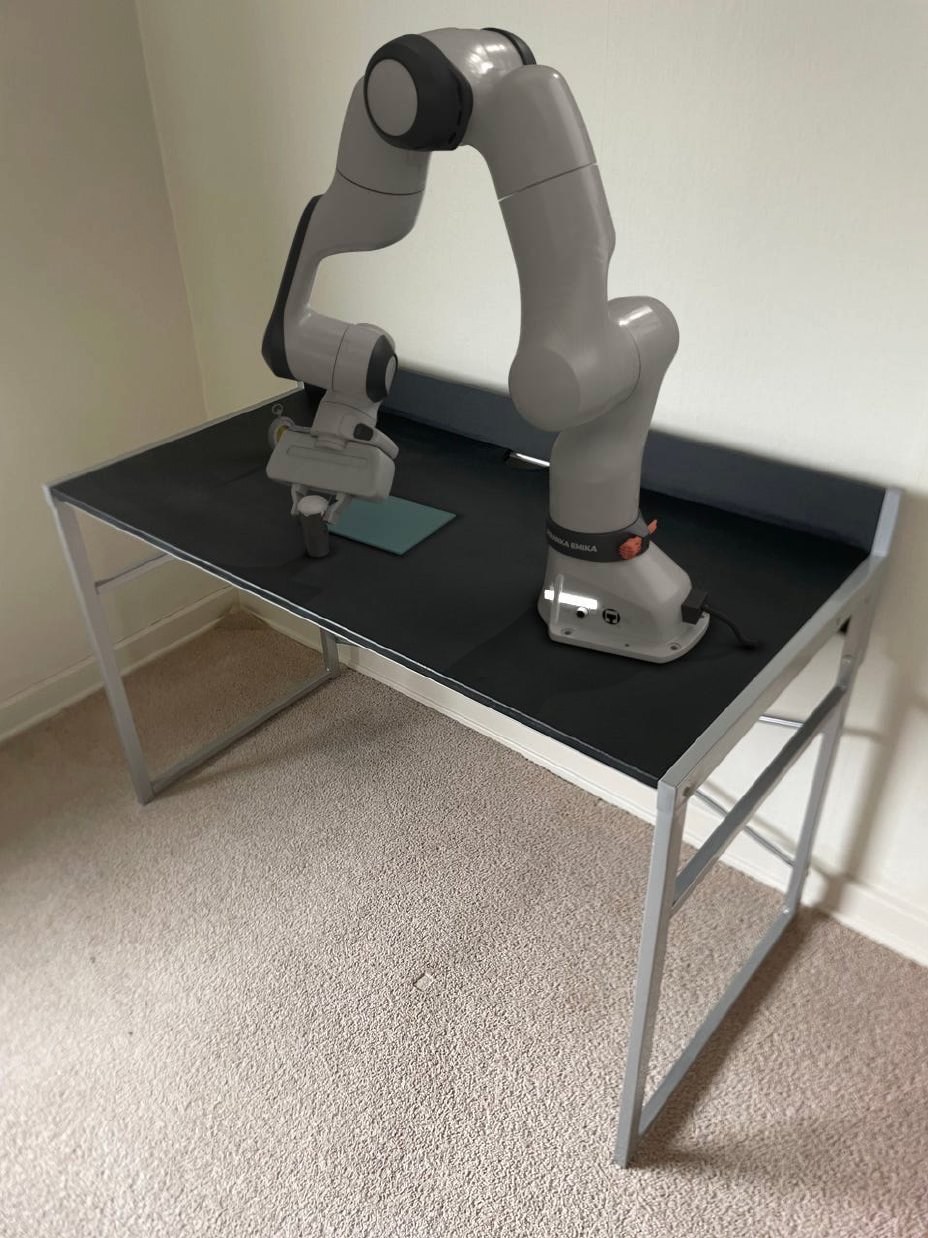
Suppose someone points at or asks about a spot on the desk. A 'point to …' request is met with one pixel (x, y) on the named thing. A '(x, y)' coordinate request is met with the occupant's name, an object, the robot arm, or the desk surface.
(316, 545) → the milkshake
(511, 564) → the desk surface
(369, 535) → the mouse pad
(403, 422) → the desk surface
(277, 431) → the pocket watch
